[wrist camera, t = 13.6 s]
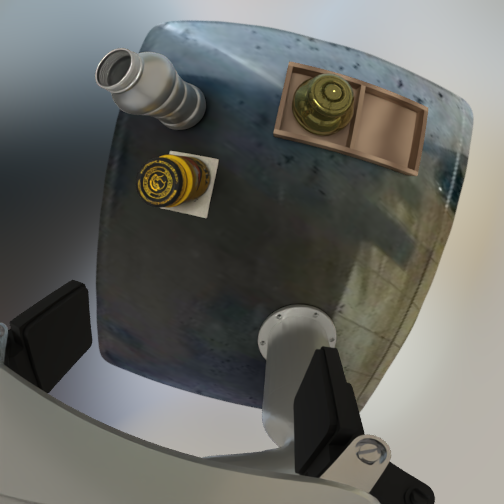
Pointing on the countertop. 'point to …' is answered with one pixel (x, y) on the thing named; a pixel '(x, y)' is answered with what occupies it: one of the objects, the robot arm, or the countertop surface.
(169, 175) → the condiment
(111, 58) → the plastic bottle
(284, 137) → the caddy
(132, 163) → the countertop surface
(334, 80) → the brass weight
